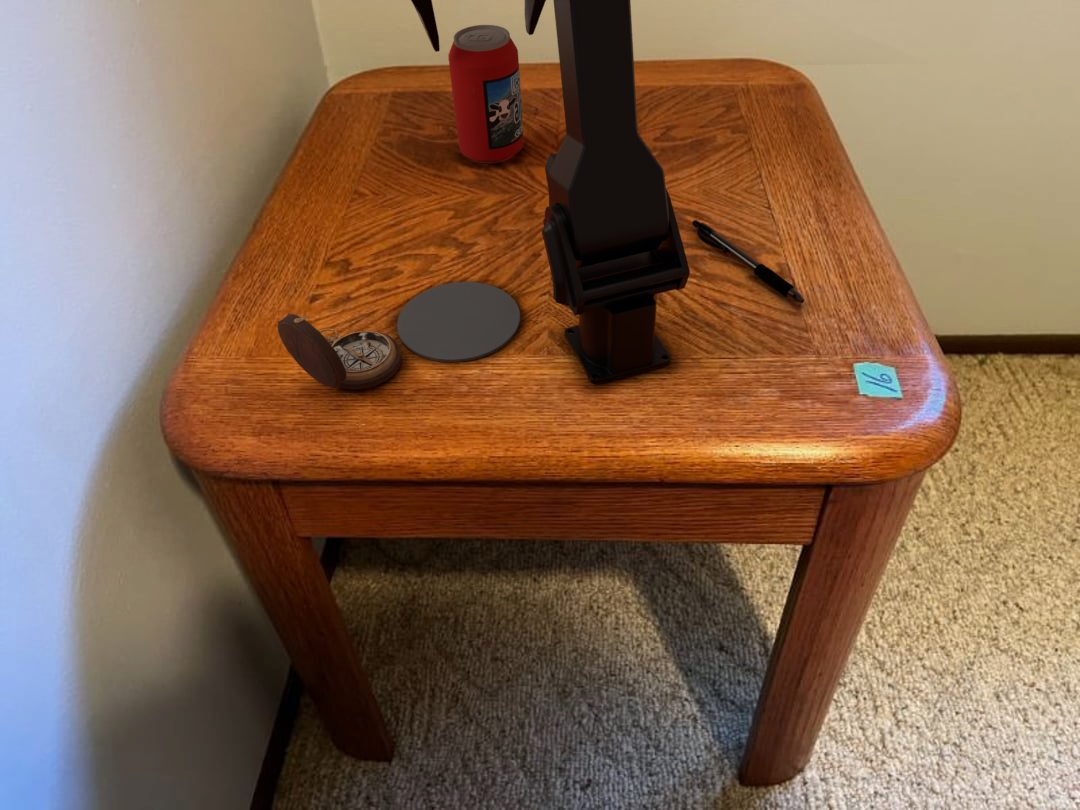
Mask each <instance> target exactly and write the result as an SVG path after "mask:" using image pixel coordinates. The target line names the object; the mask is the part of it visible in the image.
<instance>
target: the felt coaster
mask: <svg viewBox="0 0 1080 810" xmlns="http://www.w3.org/2000/svg"><path fill="white" fill-rule="evenodd" d="M520 324H521V311H520V308H519V305H518V303H517V302H516V301H515V299H514V298H513V297H512V296H511V295H510V294H509V293H508V292H506V291H504V290H503V289H501V288H498V287H497V286H494V285H491V284H487V283H482V282H476V281H456V282H455V281H454V282H449V283H444V284H440V285H437V286H434V287H430V288H428V289H427V290H424V291H422V292H420V293H419V294H417V295H415V296H414V297H412V298H411V299H410V300H409V301H408V302H407V303H406V304H405V305H404V306H403V308H402V309H401V311H400V312H399V315H398V317H397V323H396V330H397V334H398V338H399V340H400V342H401V343H402V344H403V346H404V347H405V348H406V349H408V351H410V352H411V353H413V354H415V355H417V356H419V357H422V358H423V359H425V360H430V361H434V362H441V363H461V362H463V363H464V362H470V361H474V360H479V359H481V358H484V357H486V356H489V355H492V354H494V353H496V352H497V351H499V350H501V349H502V348H503V347H506V345H507V344H508V343H510V341H511V340H512V339H513V338H514V337H515V335H516V334H517V332H518V330H519V328H520Z"/></svg>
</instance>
